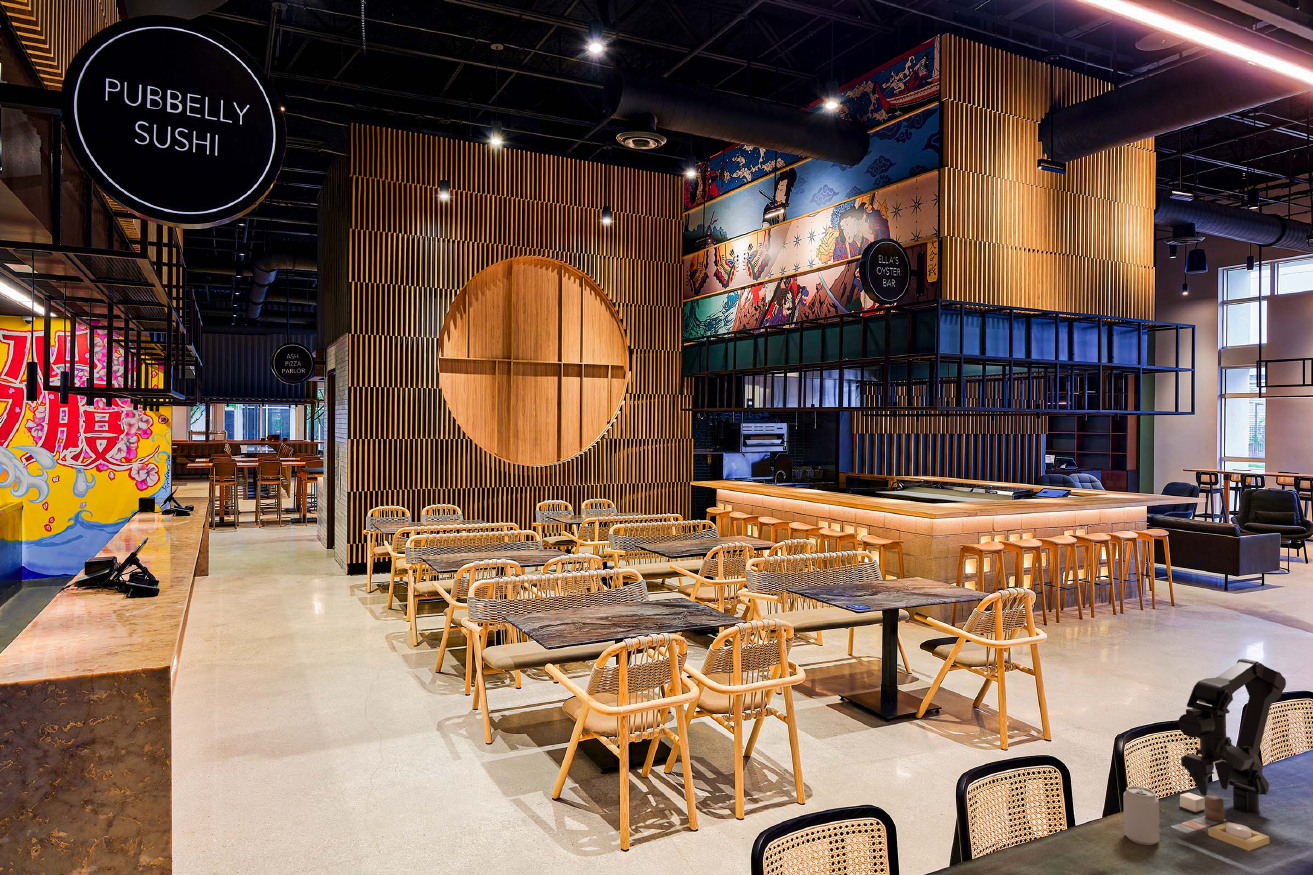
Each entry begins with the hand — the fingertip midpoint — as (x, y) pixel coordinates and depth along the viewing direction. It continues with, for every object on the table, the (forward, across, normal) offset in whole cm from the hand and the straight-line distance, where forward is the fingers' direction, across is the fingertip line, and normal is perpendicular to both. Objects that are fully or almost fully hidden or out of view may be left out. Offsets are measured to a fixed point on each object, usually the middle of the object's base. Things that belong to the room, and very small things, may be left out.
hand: (1214, 791), depth 208 cm
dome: (+7, -7, -10) cm, 14 cm away
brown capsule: (+7, 0, 0) cm, 7 cm away
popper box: (+8, -7, -10) cm, 14 cm away
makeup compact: (+8, -7, 0) cm, 10 cm away
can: (+8, -27, +2) cm, 29 cm away
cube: (+8, +2, +6) cm, 10 cm away
